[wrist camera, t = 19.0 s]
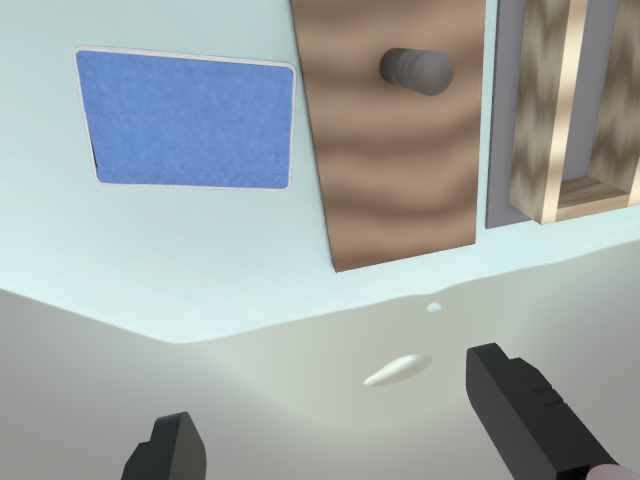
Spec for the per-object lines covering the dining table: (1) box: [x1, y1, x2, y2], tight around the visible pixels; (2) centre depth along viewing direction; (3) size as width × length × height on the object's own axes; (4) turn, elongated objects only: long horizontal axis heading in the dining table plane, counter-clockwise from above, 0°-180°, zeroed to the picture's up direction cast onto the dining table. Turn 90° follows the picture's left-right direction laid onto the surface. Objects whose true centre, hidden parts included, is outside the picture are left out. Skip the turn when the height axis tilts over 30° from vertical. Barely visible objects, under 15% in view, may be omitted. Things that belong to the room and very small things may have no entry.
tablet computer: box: [72, 45, 297, 191], centre depth 37 cm, size 19×13×1 cm, turn 86°
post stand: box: [290, 0, 486, 273], centre depth 36 cm, size 28×17×10 cm, turn 9°
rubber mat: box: [485, 0, 619, 229], centre depth 41 cm, size 30×15×1 cm, turn 9°
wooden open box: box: [509, 0, 640, 225], centre depth 38 cm, size 24×11×6 cm, turn 9°
